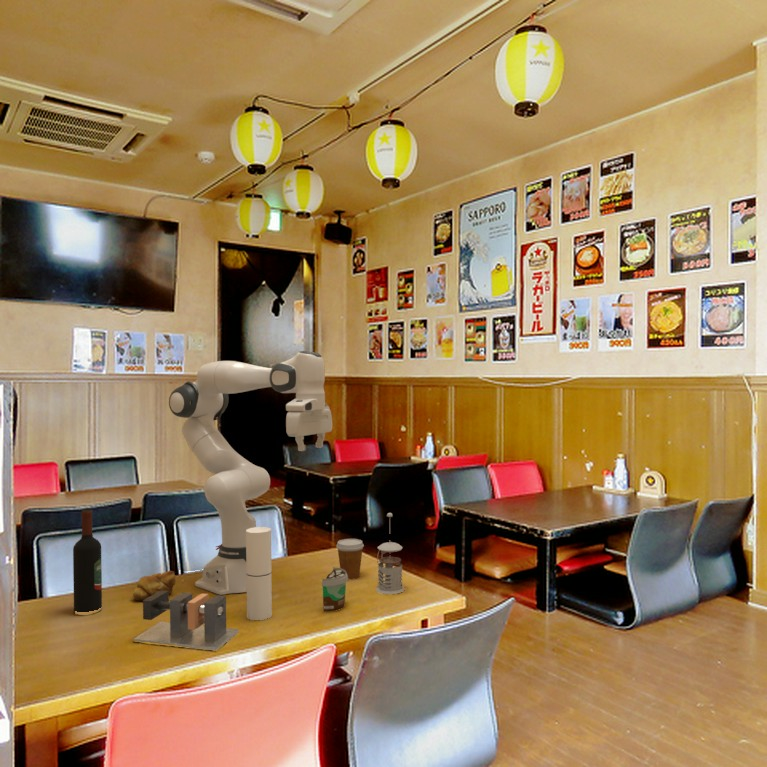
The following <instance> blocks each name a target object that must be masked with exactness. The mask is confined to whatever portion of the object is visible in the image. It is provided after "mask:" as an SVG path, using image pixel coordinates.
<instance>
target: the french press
mask: <svg viewBox="0 0 767 767" xmlns="http://www.w3.org/2000/svg"><path fill="white" fill-rule="evenodd" d="M386 517H388V518H389V523H388V524H389V533H391V518H393V513H392V512H388V513H387V514H386ZM377 549H378V552H377V565H378V567H377V568H378V570H377V571H378V578H377V579H378V586H377V587H376V588H375V590H376V591H377V592H376V593H378V592H379V594H380V593H382V594H381V595H385V594H395V595H397V594H396V593H400V592H402V591H404V588H405V587H404V586H403V563H401V561H402V559H401V558H400V557H397V556H396V557H395V556H384V557H383V555H384V554H386V553H395V552H400V551H402V549H403V546H402V545H400V544H399V543H397V542H393V541H389V542H383V543H381V544H380V545H379V546H377ZM380 551H381V558H379V553H380ZM394 566H395V567H394ZM404 592H405V591H404ZM400 594H401V593H400Z"/></svg>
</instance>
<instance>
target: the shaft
mask: <svg viewBox="0 0 767 767" xmlns="http://www.w3.org/2000/svg"><path fill="white" fill-rule="evenodd" d="M169 595H170V594H169V591H162V590H161V591H159V592H157V593H155V594H153V595H152V596H150V597H148V598H146V599H145V600H142V620H146V621H152V620H154V619H155V618H157V617H159V616H160V615H162V614H164V613H165V612H166V611H170V600H169V599H170V596H169ZM183 611H184V612H188V604H184V605H183ZM198 613H204V605H201V606H200V607H198ZM222 613H223V607H218V615H221V614H222Z"/></svg>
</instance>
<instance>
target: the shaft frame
mask: <svg viewBox="0 0 767 767" xmlns="http://www.w3.org/2000/svg"><path fill="white" fill-rule="evenodd" d="M193 595H194V594H193V593H191V592H181V593H180V594H178V595H176V596H174V597H173V598H171V599H170V600H169V602H170V610H169V622H168V621H159V622H157V623H155V624H154V625H153V626H151V627H149V628H147V630H145V631H143V632H141V633H140V634H139V635H137V636H135V637H134V638H133V639H132V641H141V642H150V643H159V644H168V645H177V646H182V647H189V648H197V649H205V650H215V651H216V650H218V649H219V648H220V647H221V646H222V647H224V646H225V645H226V644H227V643H228V642H229V641H231V640H232V639H233V638H234V637H236V636H237V635H238V634H239V630H240V629H239V628H230V627H229V628H228V627H227V596H226V595H219V594H216V595H214V596H212V597H211V598H209V600H208V601H207V602H205V603H204V624H202V625H201V626H200V627H198V628H197V629H196V630H189V629H188V612H184V611H183V605H184V604H188V602H189V601H191V600H192V599H194V598H193V597H194V596H193ZM218 607H223V613H222V614H221V615H218ZM237 633H238V634H237ZM236 634H237V635H236ZM233 636H234V637H233ZM232 637H233V638H232ZM231 638H232V639H231ZM230 639H231V640H230ZM226 642H227V643H226ZM225 643H226V644H225ZM224 644H225V645H224ZM223 645H224V646H223ZM222 647H221V648H222ZM221 648H220V649H221ZM220 649H219V650H220ZM205 650H204V651H205ZM219 650H218V651H219ZM215 651H214V652H215ZM216 652H217V651H216Z"/></svg>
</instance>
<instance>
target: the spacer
mask: <svg viewBox="0 0 767 767" xmlns="http://www.w3.org/2000/svg"><path fill="white" fill-rule="evenodd" d="M209 597H210V596H209V593H200V594H198V595H196V596H195V597H194V598H193V599H192V600H191V601H189V602H188V629H189V630H196V629H197V628H198V627H200V626H201V625H202V626H203V625H204V613H198V607H200V606H201V605H204V603H205V602H207V601H208V600H210V598H209Z"/></svg>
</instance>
